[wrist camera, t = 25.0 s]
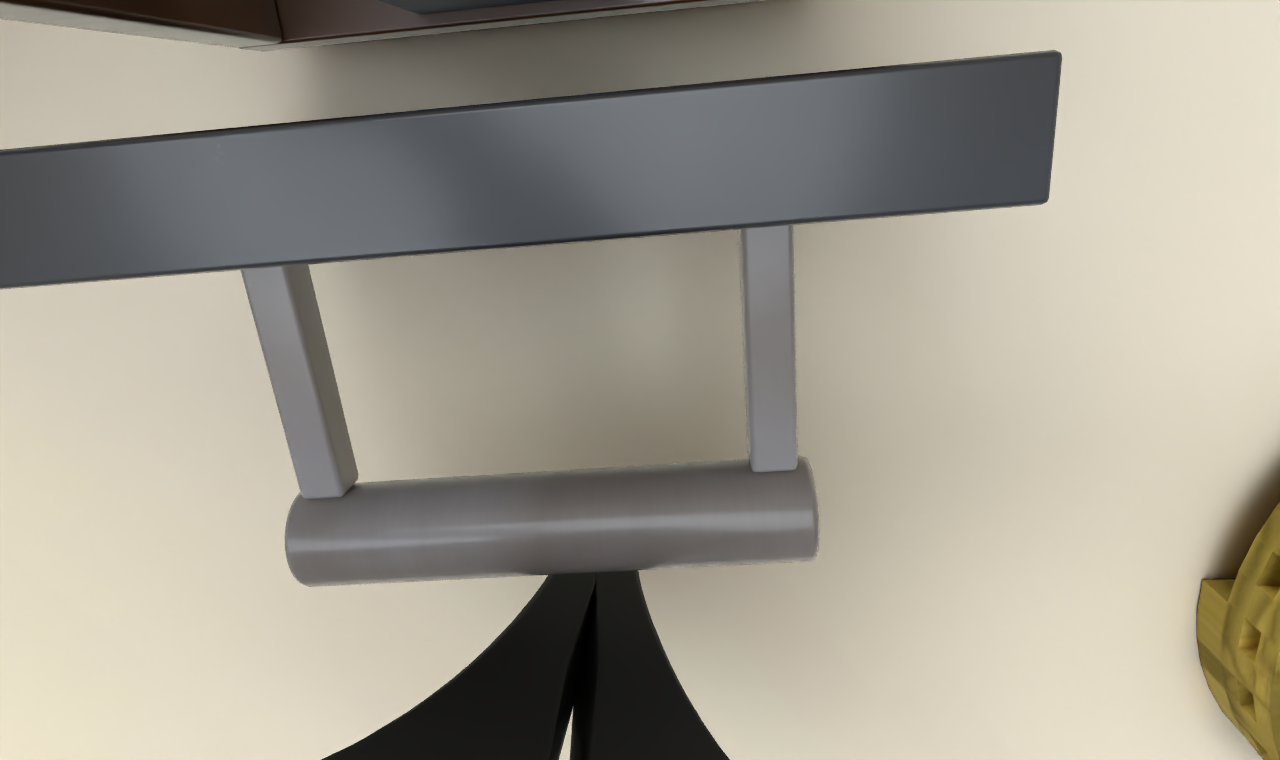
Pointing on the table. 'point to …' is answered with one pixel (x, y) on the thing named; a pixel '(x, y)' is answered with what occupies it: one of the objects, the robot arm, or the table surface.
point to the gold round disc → (1246, 641)
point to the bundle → (450, 4)
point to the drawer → (519, 217)
